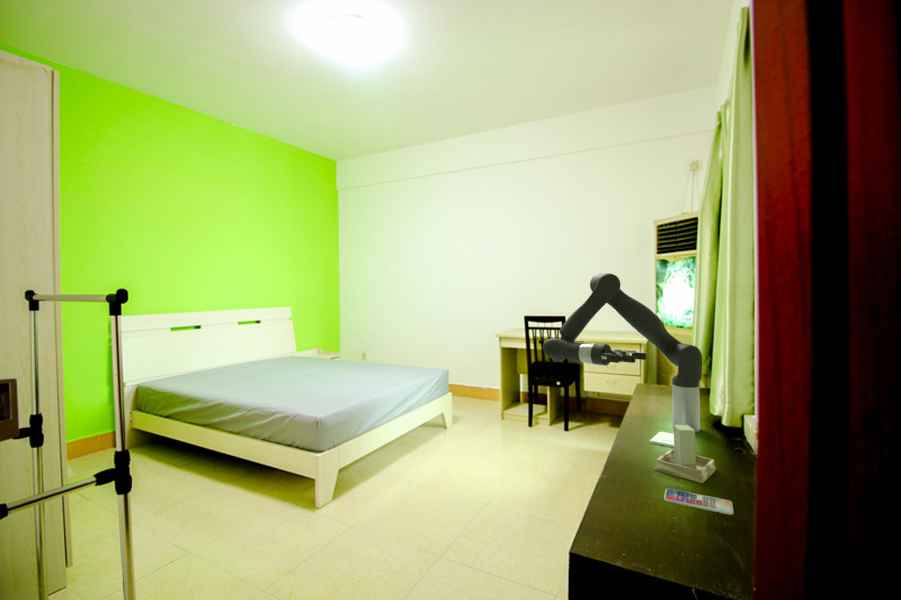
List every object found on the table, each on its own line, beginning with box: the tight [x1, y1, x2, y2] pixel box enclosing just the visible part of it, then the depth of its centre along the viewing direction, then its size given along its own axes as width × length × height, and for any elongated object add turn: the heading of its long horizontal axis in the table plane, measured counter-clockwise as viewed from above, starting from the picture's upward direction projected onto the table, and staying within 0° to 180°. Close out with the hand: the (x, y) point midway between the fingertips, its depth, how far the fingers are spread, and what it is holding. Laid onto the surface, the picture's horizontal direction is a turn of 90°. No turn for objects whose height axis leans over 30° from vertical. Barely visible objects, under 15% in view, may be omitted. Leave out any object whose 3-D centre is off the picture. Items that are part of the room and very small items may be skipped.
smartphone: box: [663, 488, 735, 516], centre depth 107 cm, size 7×1×15 cm
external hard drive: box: [649, 431, 674, 449], centre depth 152 cm, size 2×8×12 cm
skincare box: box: [672, 424, 697, 469], centre depth 127 cm, size 6×4×12 cm
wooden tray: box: [653, 449, 718, 484], centre depth 127 cm, size 13×13×3 cm
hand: (640, 358), depth 139 cm, fingers open, 8 cm apart
